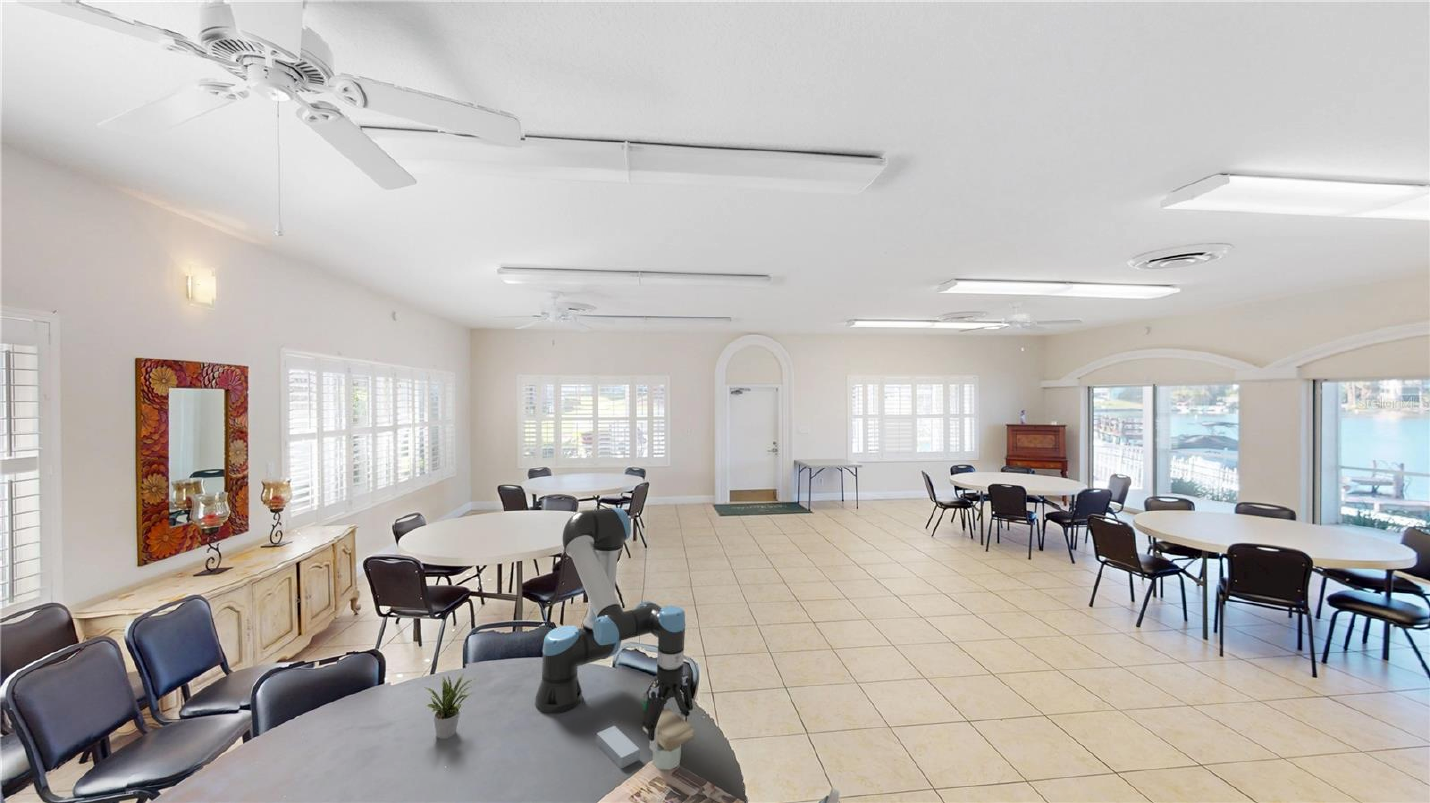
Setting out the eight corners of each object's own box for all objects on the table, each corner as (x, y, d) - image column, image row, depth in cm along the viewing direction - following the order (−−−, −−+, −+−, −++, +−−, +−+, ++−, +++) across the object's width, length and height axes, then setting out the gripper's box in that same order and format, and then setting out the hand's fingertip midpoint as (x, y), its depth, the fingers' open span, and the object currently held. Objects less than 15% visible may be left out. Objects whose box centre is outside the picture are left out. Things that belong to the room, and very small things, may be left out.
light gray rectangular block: (596, 743, 153) (596, 733, 153) (614, 735, 157) (614, 725, 157) (621, 768, 143) (621, 757, 143) (639, 759, 147) (639, 748, 147)
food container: (660, 729, 161) (661, 697, 162) (641, 726, 163) (642, 694, 163) (671, 707, 173) (672, 677, 174) (654, 704, 175) (655, 675, 175)
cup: (648, 758, 147) (648, 740, 148) (669, 747, 152) (670, 730, 153) (663, 773, 142) (664, 754, 142) (685, 761, 147) (686, 743, 147)
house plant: (486, 728, 159) (489, 674, 159) (446, 754, 146) (449, 696, 147) (454, 715, 165) (456, 663, 165) (413, 739, 152) (416, 683, 153)
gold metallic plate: (642, 729, 149) (643, 718, 149) (668, 718, 155) (668, 707, 155) (667, 750, 140) (667, 739, 140) (693, 737, 146) (693, 727, 146)
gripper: (646, 681, 138) (642, 766, 137) (707, 657, 152) (704, 735, 152) (630, 669, 143) (627, 751, 143) (691, 648, 158) (688, 722, 157)
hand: (667, 743), depth 147 cm, fingers closed on gold metallic plate, 9 cm apart
